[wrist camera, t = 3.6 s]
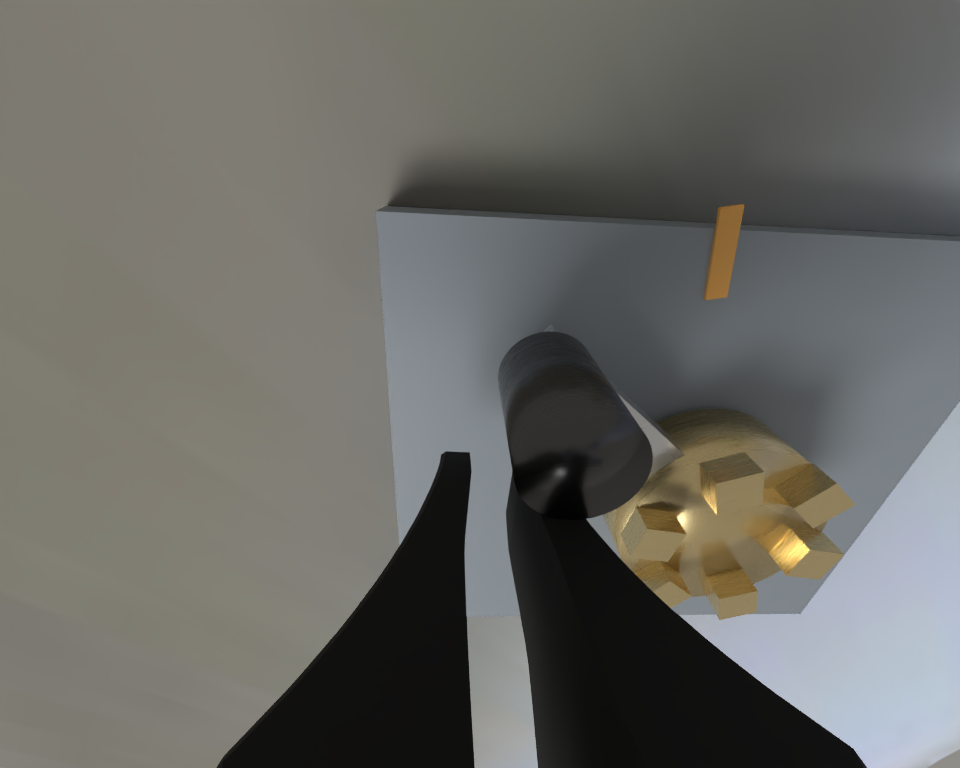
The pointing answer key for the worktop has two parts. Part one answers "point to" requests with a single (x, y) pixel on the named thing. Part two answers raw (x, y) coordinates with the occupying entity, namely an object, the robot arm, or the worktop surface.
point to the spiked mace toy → (664, 479)
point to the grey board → (667, 350)
